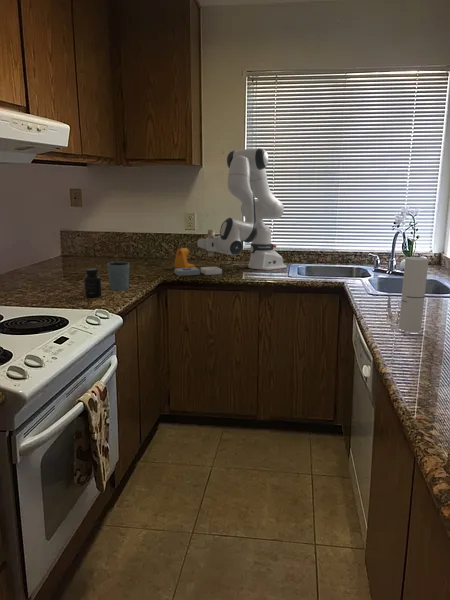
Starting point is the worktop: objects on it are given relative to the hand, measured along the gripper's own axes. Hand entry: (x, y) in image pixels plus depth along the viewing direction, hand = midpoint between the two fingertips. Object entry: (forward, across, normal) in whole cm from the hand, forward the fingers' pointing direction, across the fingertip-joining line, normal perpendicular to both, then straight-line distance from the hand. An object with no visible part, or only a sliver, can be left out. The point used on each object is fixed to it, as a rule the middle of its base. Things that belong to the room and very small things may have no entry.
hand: (210, 241), depth 265 cm
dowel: (-1, 0, +8) cm, 8 cm away
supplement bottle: (-28, +70, +18) cm, 77 cm away
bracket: (+17, +8, +18) cm, 26 cm away
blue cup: (-18, +55, +18) cm, 61 cm away
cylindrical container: (-126, -15, +18) cm, 128 cm away
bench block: (+3, +12, +18) cm, 22 cm away
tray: (-1, 0, +17) cm, 17 cm away
